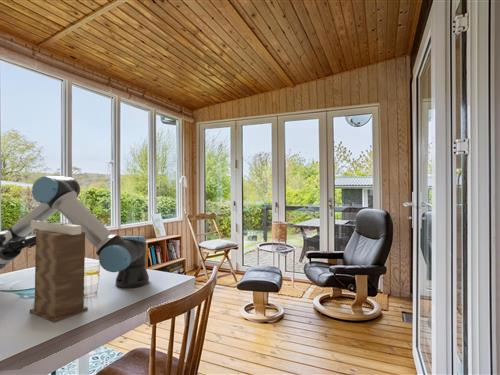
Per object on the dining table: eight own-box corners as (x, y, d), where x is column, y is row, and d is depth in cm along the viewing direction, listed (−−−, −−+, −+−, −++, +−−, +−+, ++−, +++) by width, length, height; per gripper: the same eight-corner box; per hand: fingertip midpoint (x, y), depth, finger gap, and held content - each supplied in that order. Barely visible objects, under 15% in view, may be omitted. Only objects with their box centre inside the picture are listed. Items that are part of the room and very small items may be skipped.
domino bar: (30, 228, 117) (31, 220, 117) (39, 227, 120) (39, 219, 120) (72, 234, 104) (73, 226, 104) (81, 233, 107) (81, 225, 107)
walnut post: (29, 312, 108) (31, 231, 108) (63, 301, 119) (64, 228, 119) (54, 322, 101) (56, 236, 101) (87, 310, 112) (89, 231, 111)
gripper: (41, 254, 138) (64, 236, 130) (-28, 267, 116) (-6, 245, 108) (37, 240, 140) (59, 220, 131) (-32, 249, 118) (-11, 227, 109)
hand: (30, 232), depth 119 cm, fingers open, 13 cm apart
